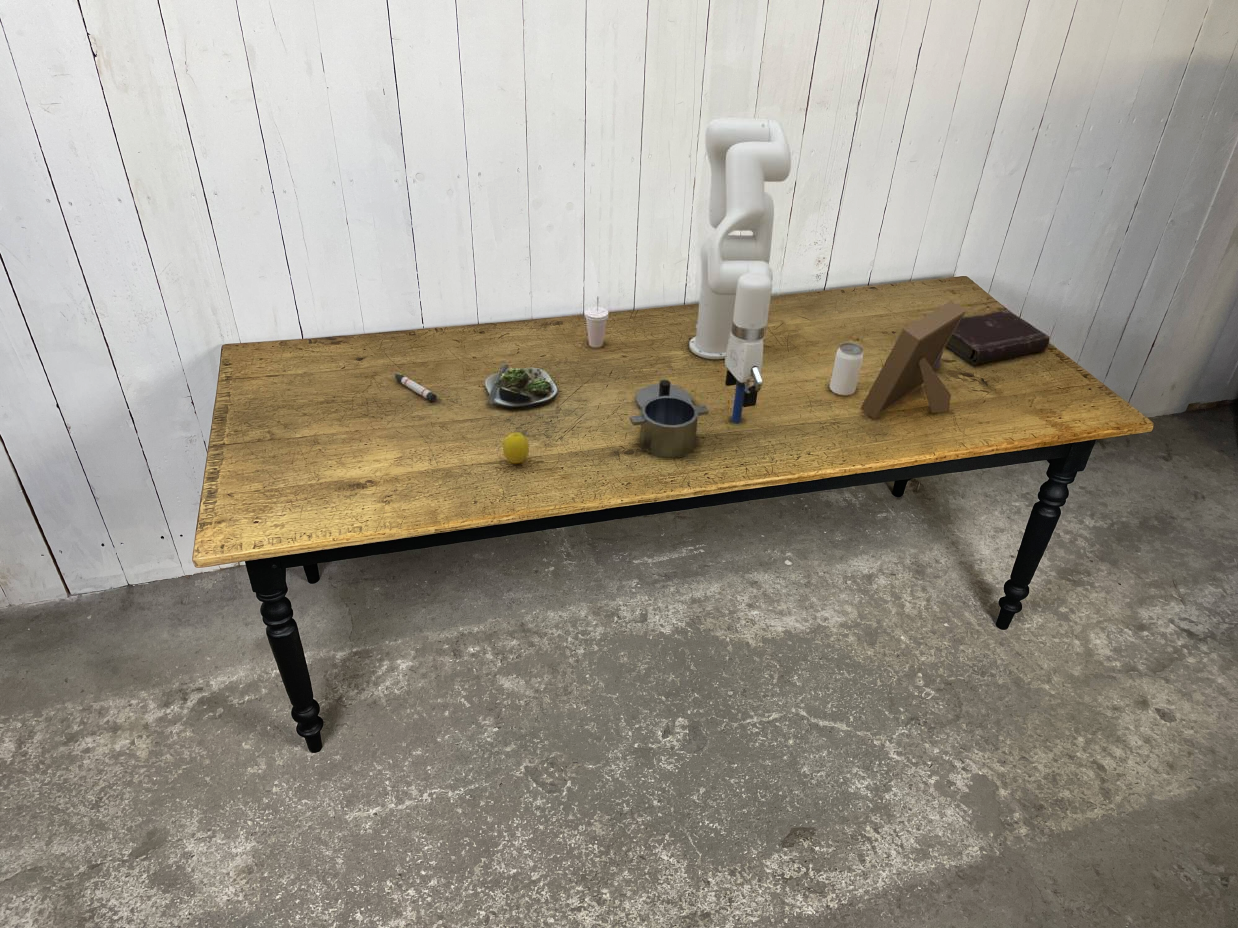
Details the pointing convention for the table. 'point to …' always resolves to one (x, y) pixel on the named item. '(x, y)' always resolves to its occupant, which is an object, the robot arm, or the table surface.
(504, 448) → the lemon
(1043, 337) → the diary
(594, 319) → the smoothie
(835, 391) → the can
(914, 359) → the photo frame
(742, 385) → the pen
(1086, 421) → the table surface
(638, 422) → the pot
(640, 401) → the pot lid
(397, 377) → the marker
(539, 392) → the salad plate
